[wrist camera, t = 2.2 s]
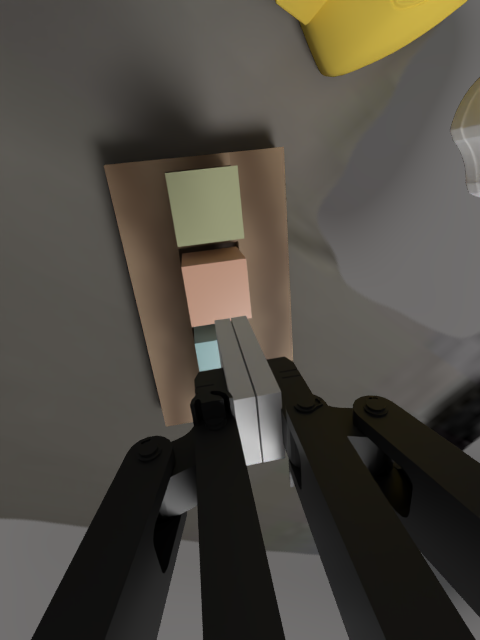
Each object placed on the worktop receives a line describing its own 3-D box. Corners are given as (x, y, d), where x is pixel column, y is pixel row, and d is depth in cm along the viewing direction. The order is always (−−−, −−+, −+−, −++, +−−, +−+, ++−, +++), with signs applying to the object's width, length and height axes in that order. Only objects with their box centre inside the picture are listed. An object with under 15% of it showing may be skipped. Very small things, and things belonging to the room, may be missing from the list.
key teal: (200, 363, 32) (203, 393, 27) (193, 319, 30) (194, 343, 25) (247, 355, 32) (258, 383, 27) (243, 311, 30) (253, 334, 26)
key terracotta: (190, 305, 29) (191, 327, 25) (182, 253, 27) (181, 267, 23) (241, 297, 30) (251, 317, 25) (236, 246, 28) (246, 258, 23)
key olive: (179, 236, 27) (177, 247, 22) (168, 175, 25) (164, 173, 20) (234, 229, 27) (244, 238, 23) (228, 169, 26) (237, 165, 21)
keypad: (167, 411, 37) (166, 426, 35) (110, 166, 27) (103, 165, 25) (288, 390, 38) (294, 403, 36) (275, 150, 28) (283, 146, 26)
